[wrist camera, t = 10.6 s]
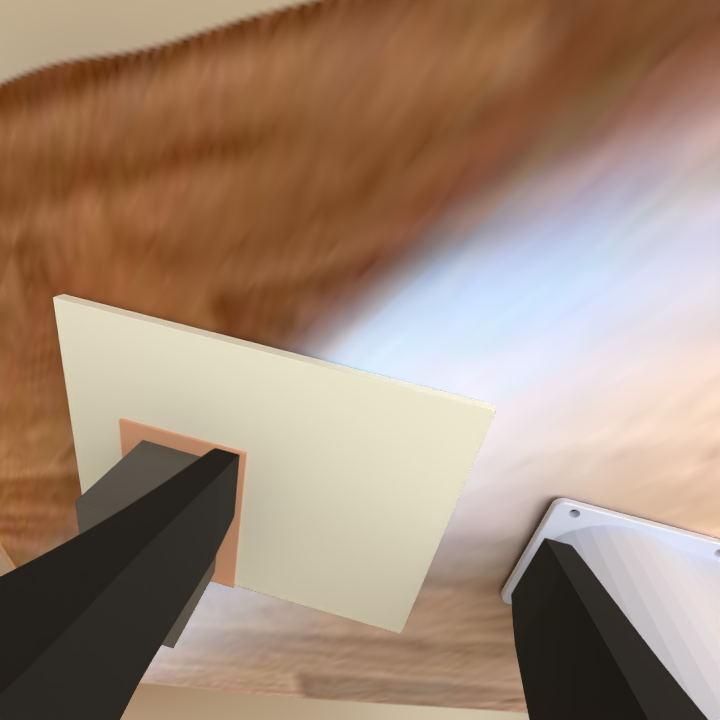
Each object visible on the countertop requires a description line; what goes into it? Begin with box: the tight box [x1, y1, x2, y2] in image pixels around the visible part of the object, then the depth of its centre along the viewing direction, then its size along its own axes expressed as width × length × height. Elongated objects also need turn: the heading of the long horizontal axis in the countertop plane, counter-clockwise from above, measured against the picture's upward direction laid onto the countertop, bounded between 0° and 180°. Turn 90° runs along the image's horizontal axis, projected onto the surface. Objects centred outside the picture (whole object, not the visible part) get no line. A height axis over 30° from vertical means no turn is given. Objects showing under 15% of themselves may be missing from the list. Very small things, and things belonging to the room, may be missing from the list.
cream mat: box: [53, 294, 496, 634], centre depth 22 cm, size 21×17×1 cm
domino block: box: [75, 440, 216, 648], centre depth 21 cm, size 9×5×5 cm, turn 168°
